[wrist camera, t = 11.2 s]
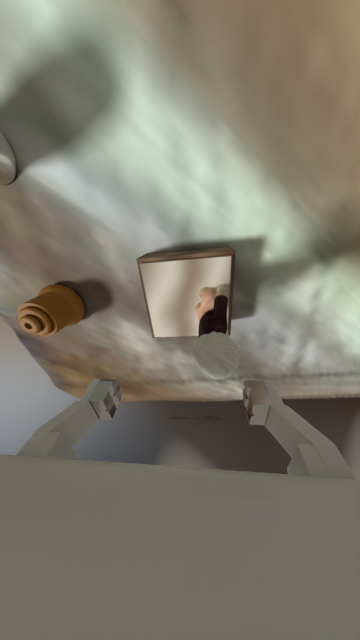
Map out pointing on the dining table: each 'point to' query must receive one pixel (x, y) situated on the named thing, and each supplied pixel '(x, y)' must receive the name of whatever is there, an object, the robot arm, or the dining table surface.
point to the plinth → (183, 287)
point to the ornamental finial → (51, 311)
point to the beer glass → (6, 162)
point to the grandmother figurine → (215, 335)
